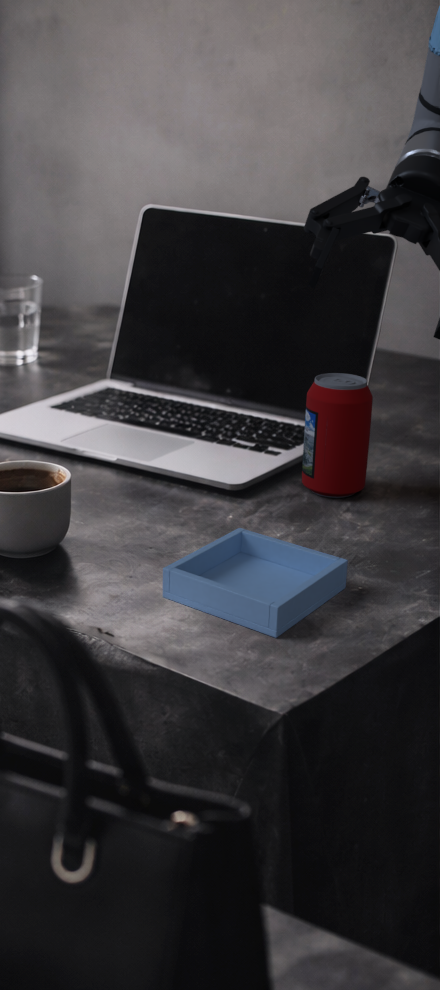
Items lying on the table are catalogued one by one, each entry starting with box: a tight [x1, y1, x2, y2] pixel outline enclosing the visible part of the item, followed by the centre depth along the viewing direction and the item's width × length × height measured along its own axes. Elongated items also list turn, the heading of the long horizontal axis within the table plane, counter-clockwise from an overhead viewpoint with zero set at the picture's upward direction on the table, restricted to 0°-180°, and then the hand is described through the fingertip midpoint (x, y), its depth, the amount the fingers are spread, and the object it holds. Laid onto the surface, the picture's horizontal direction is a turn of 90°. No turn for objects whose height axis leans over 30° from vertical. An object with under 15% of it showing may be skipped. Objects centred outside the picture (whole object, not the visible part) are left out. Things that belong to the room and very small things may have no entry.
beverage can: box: [301, 372, 374, 499], centre depth 102 cm, size 7×7×12 cm
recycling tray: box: [162, 527, 349, 639], centre depth 80 cm, size 11×11×3 cm
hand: (378, 303), depth 97 cm, fingers open, 13 cm apart
